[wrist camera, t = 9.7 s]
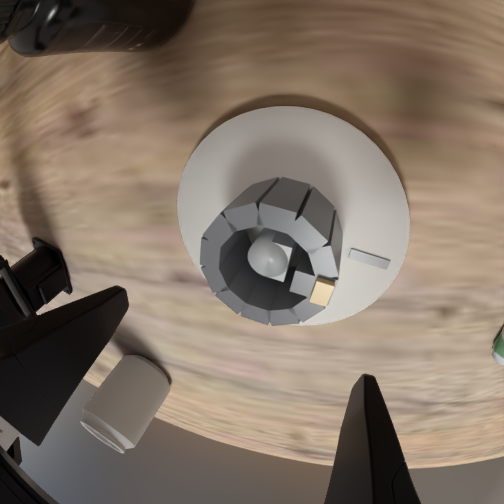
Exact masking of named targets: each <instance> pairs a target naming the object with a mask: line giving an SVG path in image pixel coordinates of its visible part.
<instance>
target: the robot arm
mask: <svg viewBox="0 0 504 504" xmlns="http://www.w3.org/2000/svg"><path fill="white" fill-rule="evenodd" d="M32 242H33V246H34V250H33V251H32V252H30V253H29V254H27V255H26V256H25V257H23V258H22V259H21V260H19V261H18V262H17V263H15V264H14V265H13V266H11V267H10V266H9V263H8V261H7V259H6V260H4V258H3V257H2V256H1V255H0V275H1V277H0V504H59V503H58V502H57V501H55V500H54V499H53V498H52V497H51V496H50V495H48V494H47V493H46V492H45V491H44V490H43V489H42V488H41V487H40V486H39V485H37V484H36V483H35V482H34V481H33V480H32V479H31V478H30V477H29V476H28V475H27V474H26V473H25V472H24V471H23V470H22V469H21V468H20V467H19V465H20V463H21V462H22V457H21V450H20V441H19V437H18V435H19V434H20V433H21V434H22V435H24V436H25V437H26V438H28V439H29V440H30V441H32V442H33V443H34V444H36V445H37V446H39V445H40V444H41V443H42V441H43V440H44V438H45V436H46V434H47V433H48V431H49V430H50V428H51V426H52V424H53V423H54V421H55V420H56V418H57V417H58V415H59V413H60V412H61V410H62V409H63V407H64V406H65V404H66V403H67V401H68V399H69V398H70V397H71V395H72V394H73V392H74V391H75V389H76V388H77V386H78V385H79V383H80V381H81V380H82V379H83V377H84V376H85V374H86V373H87V371H88V370H89V368H90V367H91V366H92V364H93V363H94V361H95V360H96V359H97V357H98V356H99V354H100V353H101V351H102V350H103V349H104V347H105V346H106V345H107V343H108V342H109V340H110V339H111V337H112V336H113V334H114V332H115V330H116V329H117V327H118V325H119V324H120V322H121V320H122V318H123V317H124V315H125V313H126V312H127V310H128V307H129V302H128V296H127V291H126V289H124V288H122V287H120V286H113V287H110V288H108V289H105V290H102V291H100V292H97V293H95V294H92V295H89V296H87V297H84V298H81V299H79V300H76V301H74V302H71V303H68V304H66V305H63V306H61V307H58V308H55V309H53V310H50V311H48V312H45V313H43V314H41V315H37V314H36V312H37V311H38V310H39V309H40V308H41V307H42V306H43V305H44V304H48V303H49V302H50V301H51V300H52V299H53V298H54V297H56V296H57V295H58V294H59V293H60V292H61V291H62V290H63V291H64V292H66V293H67V294H69V295H70V294H71V293H72V289H71V286H70V283H69V280H68V276H67V273H66V270H65V266H64V262H63V259H62V255H61V252H60V251H59V250H58V249H56V248H54V247H52V246H50V245H48V244H47V243H45V242H43V241H41V240H39V239H37V238H36V237H34V238H33V239H32ZM404 461H405V458H404V455H403V452H402V449H401V446H400V443H399V440H398V437H397V435H396V432H395V429H394V426H393V423H392V420H391V418H390V415H389V412H388V409H387V407H386V404H385V401H384V399H383V396H382V394H381V391H380V388H379V386H378V383H377V381H376V378H375V377H374V376H373V375H369V374H362V376H361V377H360V378H359V379H358V381H357V382H356V383H355V384H354V386H353V388H352V390H351V394H350V398H349V402H348V405H347V409H346V413H345V416H344V419H343V423H342V427H341V431H340V436H339V441H338V446H337V451H336V456H335V461H334V465H333V470H332V474H331V479H330V483H329V487H328V491H327V495H326V498H325V502H324V504H421V502H420V500H419V497H418V495H417V492H416V490H415V487H414V485H413V482H412V479H411V477H410V474H409V471H408V467H407V464H406V462H404Z"/></svg>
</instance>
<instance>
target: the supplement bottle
mask: <svg viewBox="0 0 504 504" xmlns="http://www.w3.org/2000/svg"><path fill="white" fill-rule="evenodd" d="M192 4H193V0H0V44H2V43H3V42H5V41H6V40H8V43H9V45H10V46H11V48H12V49H13V50H14V51H15V52H16V53H18V54H19V55H22V56H24V57H40V56H48V55H57V54H68V53H84V52H142V51H146V50H150V49H153V48H155V47H157V46H159V45H161V44H162V43H164V42H165V41H167V40H168V39H169V38H171V37H172V36H173V35H174V34H175V33H176V32H177V31H178V30H179V28H180V27H181V26H182V25H183V23H184V22H185V20H186V18H187V16H188V15H189V12H190V10H191V7H192Z"/></svg>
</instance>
